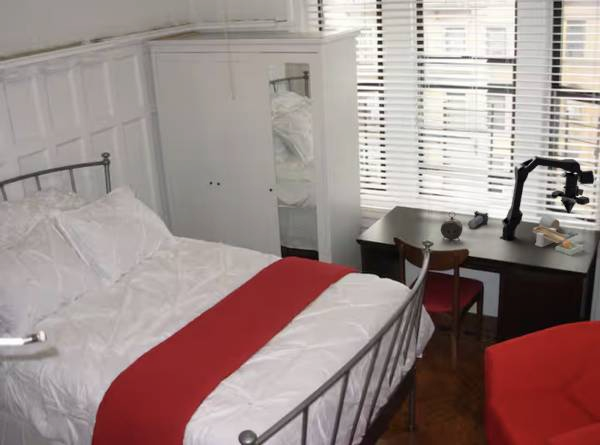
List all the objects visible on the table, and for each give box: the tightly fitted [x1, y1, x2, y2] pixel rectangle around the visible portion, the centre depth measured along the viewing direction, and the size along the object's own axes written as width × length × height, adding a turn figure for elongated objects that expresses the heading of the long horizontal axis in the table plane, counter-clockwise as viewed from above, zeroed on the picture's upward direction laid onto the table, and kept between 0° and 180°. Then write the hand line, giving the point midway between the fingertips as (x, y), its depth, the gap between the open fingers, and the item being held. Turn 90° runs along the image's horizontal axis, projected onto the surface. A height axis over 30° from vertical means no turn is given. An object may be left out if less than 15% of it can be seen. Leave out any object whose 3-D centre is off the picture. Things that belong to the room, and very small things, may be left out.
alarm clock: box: [440, 211, 464, 242], centre depth 365 cm, size 11×5×16 cm, turn 71°
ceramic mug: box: [538, 214, 561, 232], centre depth 374 cm, size 11×8×8 cm
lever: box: [531, 225, 579, 244], centre depth 359 cm, size 18×15×5 cm
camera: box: [467, 210, 490, 229], centre depth 385 cm, size 9×8×12 cm
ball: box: [562, 240, 571, 249], centre depth 348 cm, size 4×4×4 cm
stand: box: [534, 228, 557, 248], centre depth 357 cm, size 12×4×6 cm, turn 126°
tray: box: [554, 240, 584, 257], centre depth 347 cm, size 10×9×3 cm
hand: (568, 213), depth 360 cm, fingers closed
